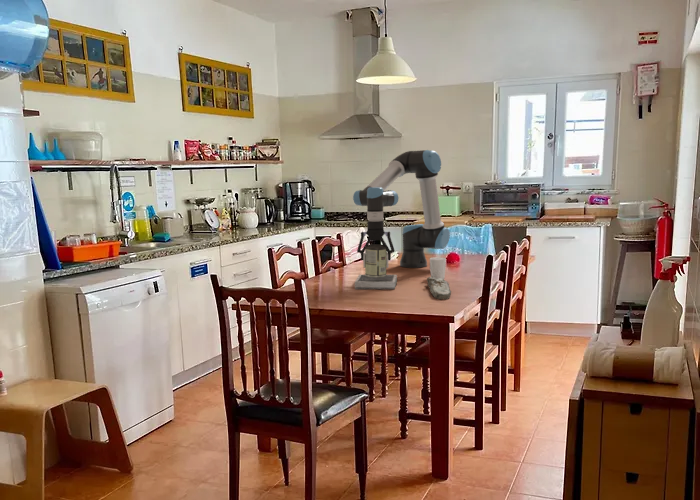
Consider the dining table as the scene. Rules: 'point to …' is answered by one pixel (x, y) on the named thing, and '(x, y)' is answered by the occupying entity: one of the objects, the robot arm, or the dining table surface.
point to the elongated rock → (439, 288)
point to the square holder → (376, 282)
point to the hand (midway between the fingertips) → (376, 267)
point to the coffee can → (375, 260)
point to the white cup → (437, 267)
